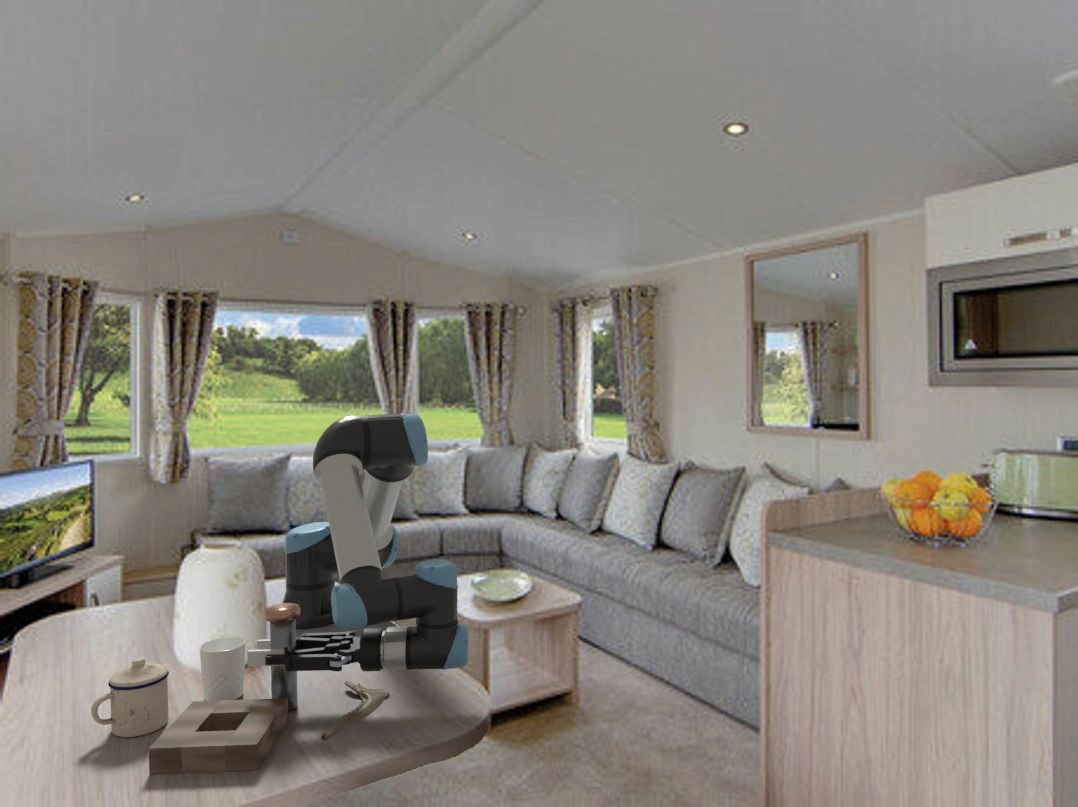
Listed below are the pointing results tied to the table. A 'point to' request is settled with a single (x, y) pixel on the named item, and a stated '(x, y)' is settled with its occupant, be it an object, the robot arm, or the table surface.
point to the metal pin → (280, 638)
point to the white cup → (223, 668)
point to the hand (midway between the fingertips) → (253, 652)
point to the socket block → (219, 736)
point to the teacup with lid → (136, 699)
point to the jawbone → (359, 707)
